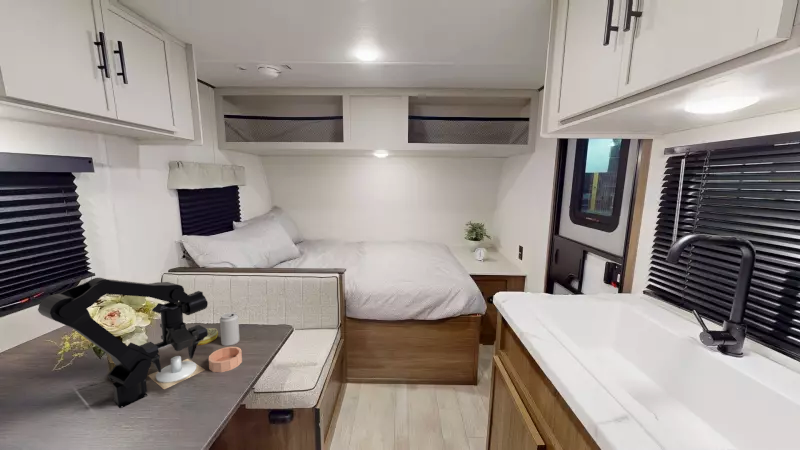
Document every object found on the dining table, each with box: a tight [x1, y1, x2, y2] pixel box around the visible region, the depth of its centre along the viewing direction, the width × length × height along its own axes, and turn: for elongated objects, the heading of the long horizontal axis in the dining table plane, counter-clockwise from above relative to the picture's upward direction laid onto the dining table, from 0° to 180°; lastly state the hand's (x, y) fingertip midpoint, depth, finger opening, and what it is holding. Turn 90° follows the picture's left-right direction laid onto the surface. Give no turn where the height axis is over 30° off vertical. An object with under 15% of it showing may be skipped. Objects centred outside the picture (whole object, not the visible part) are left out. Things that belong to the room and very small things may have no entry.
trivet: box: [147, 358, 206, 390], centre depth 104 cm, size 12×12×1 cm
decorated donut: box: [197, 327, 219, 346], centre depth 125 cm, size 10×11×4 cm
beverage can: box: [219, 311, 240, 347], centre depth 123 cm, size 6×6×12 cm
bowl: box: [208, 346, 243, 373], centre depth 109 cm, size 10×10×4 cm
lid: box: [156, 355, 197, 383], centre depth 103 cm, size 11×11×5 cm
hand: (175, 364), depth 103 cm, fingers open, 9 cm apart
